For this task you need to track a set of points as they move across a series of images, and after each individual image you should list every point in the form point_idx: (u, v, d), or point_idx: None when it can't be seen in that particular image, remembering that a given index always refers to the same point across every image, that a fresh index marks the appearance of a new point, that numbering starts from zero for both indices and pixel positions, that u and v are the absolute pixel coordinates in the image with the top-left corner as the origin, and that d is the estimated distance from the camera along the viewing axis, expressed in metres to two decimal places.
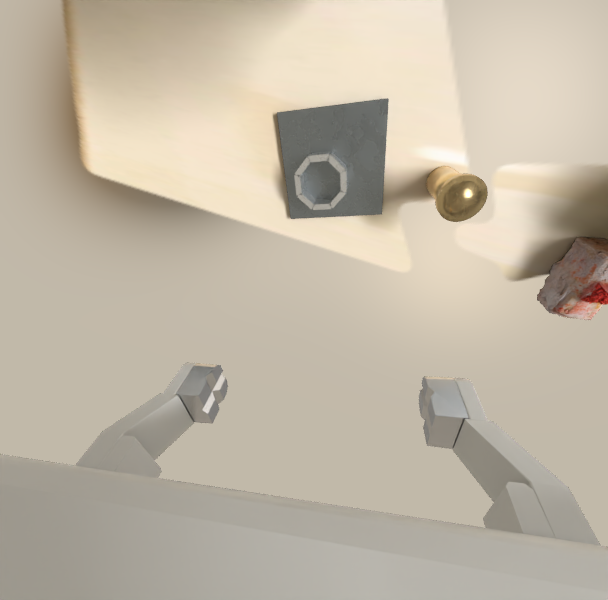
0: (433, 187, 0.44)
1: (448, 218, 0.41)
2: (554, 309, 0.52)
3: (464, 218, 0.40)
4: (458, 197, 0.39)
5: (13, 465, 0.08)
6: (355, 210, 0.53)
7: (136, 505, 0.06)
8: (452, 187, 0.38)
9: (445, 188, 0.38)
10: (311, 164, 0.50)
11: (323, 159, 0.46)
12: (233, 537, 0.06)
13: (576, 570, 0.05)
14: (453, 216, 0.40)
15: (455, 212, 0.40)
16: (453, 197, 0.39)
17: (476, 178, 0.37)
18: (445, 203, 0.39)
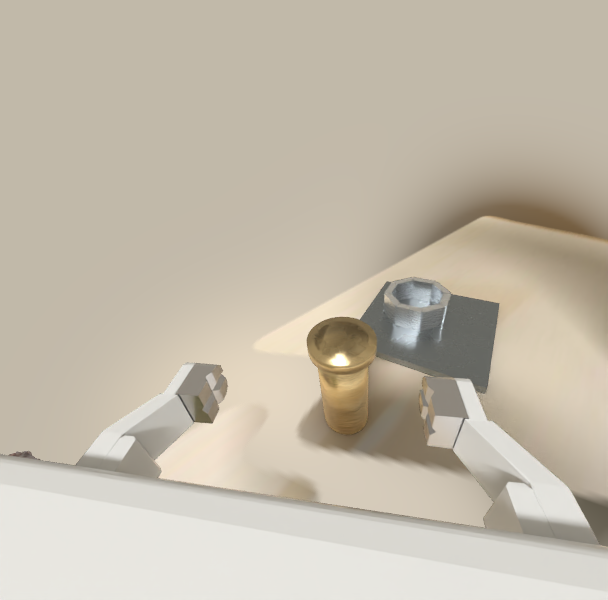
0: None
1: (323, 323, 0.27)
2: None
3: (311, 335, 0.26)
4: (346, 336, 0.25)
5: (13, 465, 0.08)
6: None
7: (136, 505, 0.06)
8: (365, 333, 0.25)
9: (368, 328, 0.26)
10: None
11: (442, 301, 0.40)
12: (233, 537, 0.06)
13: (576, 570, 0.05)
14: (322, 327, 0.27)
15: (325, 329, 0.27)
16: (349, 332, 0.26)
17: (363, 357, 0.23)
18: (346, 324, 0.27)
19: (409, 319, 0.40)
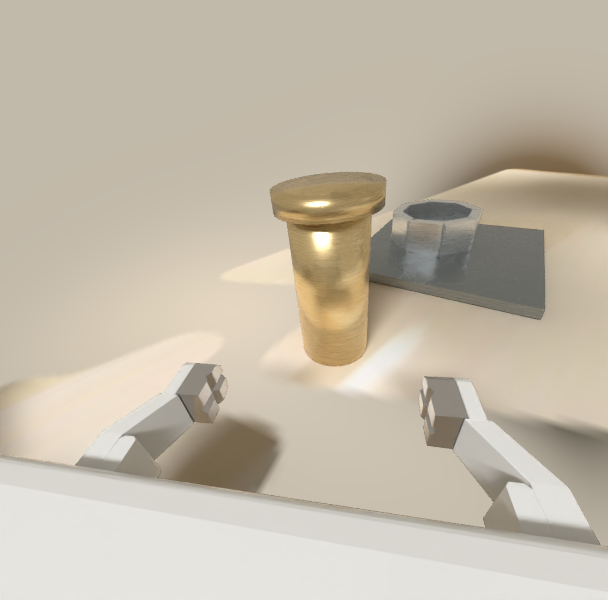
0: None
1: (300, 178, 0.17)
2: None
3: (279, 185, 0.16)
4: (336, 181, 0.15)
5: (13, 465, 0.08)
6: None
7: (136, 505, 0.06)
8: (367, 178, 0.15)
9: (372, 175, 0.16)
10: None
11: (471, 215, 0.30)
12: (233, 537, 0.06)
13: (576, 570, 0.05)
14: (298, 180, 0.17)
15: (303, 181, 0.17)
16: (341, 179, 0.16)
17: (362, 191, 0.13)
18: (337, 175, 0.17)
19: (426, 239, 0.30)
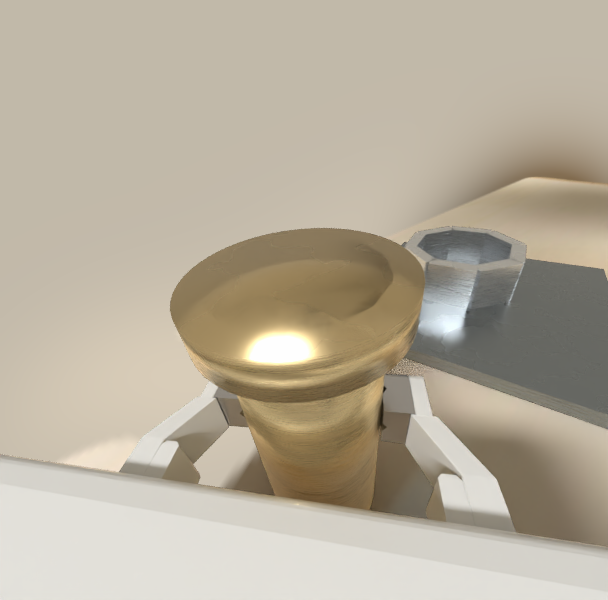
0: None
1: (255, 240, 0.09)
2: None
3: (204, 266, 0.08)
4: (316, 265, 0.07)
5: (13, 465, 0.08)
6: None
7: (137, 504, 0.06)
8: (380, 258, 0.07)
9: (388, 245, 0.08)
10: None
11: (514, 255, 0.22)
12: (233, 537, 0.06)
13: (576, 570, 0.05)
14: (248, 248, 0.09)
15: (256, 252, 0.09)
16: (328, 256, 0.08)
17: (373, 329, 0.05)
18: (322, 240, 0.09)
19: (452, 287, 0.22)
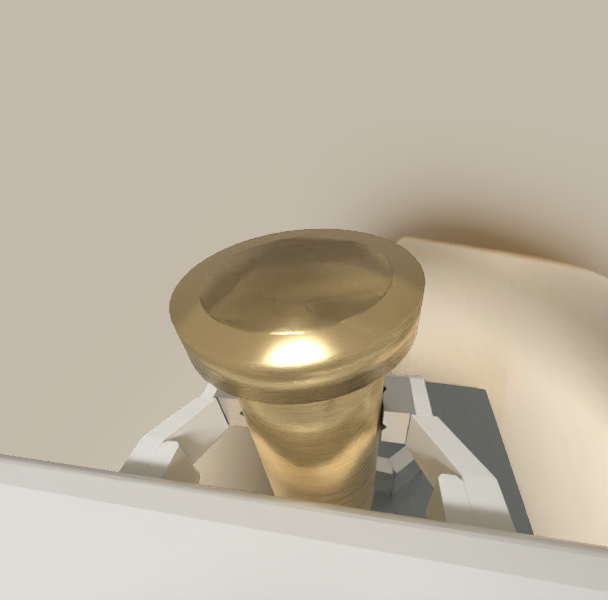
0: None
1: (254, 241, 0.09)
2: None
3: (204, 267, 0.08)
4: (315, 266, 0.07)
5: (13, 465, 0.08)
6: None
7: (136, 505, 0.06)
8: (379, 258, 0.07)
9: (388, 246, 0.08)
10: None
11: None
12: (233, 537, 0.06)
13: (576, 570, 0.05)
14: (247, 249, 0.09)
15: (255, 253, 0.09)
16: (327, 256, 0.08)
17: (373, 330, 0.05)
18: (321, 240, 0.09)
19: None
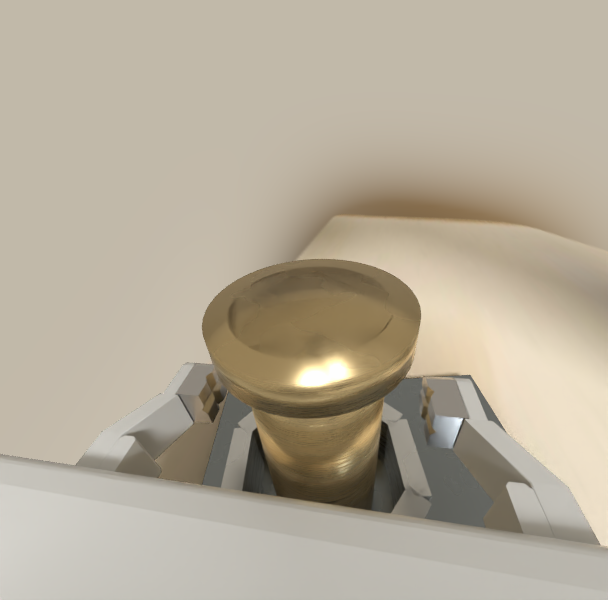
0: None
1: (270, 269, 0.11)
2: None
3: (227, 293, 0.09)
4: (327, 297, 0.09)
5: (13, 465, 0.08)
6: None
7: (137, 504, 0.06)
8: (382, 291, 0.09)
9: (389, 279, 0.09)
10: None
11: (406, 472, 0.12)
12: (233, 537, 0.06)
13: (576, 570, 0.05)
14: (264, 277, 0.10)
15: (272, 282, 0.10)
16: (336, 288, 0.09)
17: (378, 358, 0.06)
18: (330, 271, 0.10)
19: None
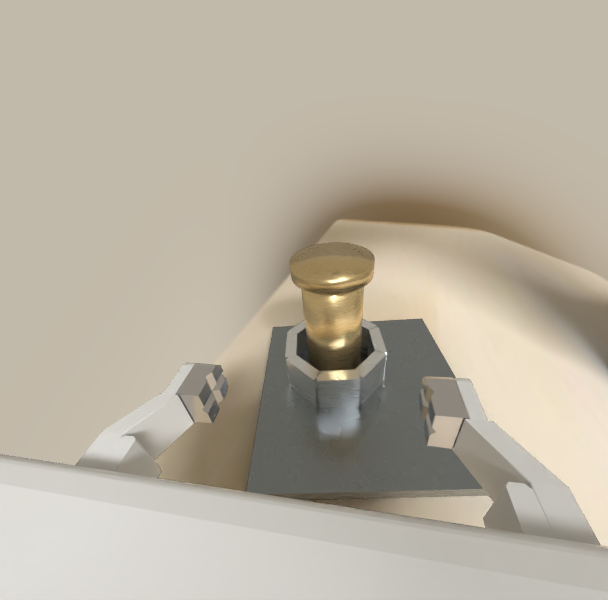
0: None
1: (311, 247, 0.23)
2: None
3: (295, 256, 0.22)
4: (338, 257, 0.21)
5: (13, 466, 0.08)
6: (268, 426, 0.23)
7: (136, 504, 0.06)
8: (360, 254, 0.21)
9: (364, 250, 0.22)
10: None
11: (376, 345, 0.25)
12: (233, 537, 0.06)
13: (576, 570, 0.05)
14: (309, 250, 0.22)
15: (313, 252, 0.22)
16: (342, 253, 0.21)
17: (356, 273, 0.19)
18: (339, 247, 0.22)
19: (342, 394, 0.23)
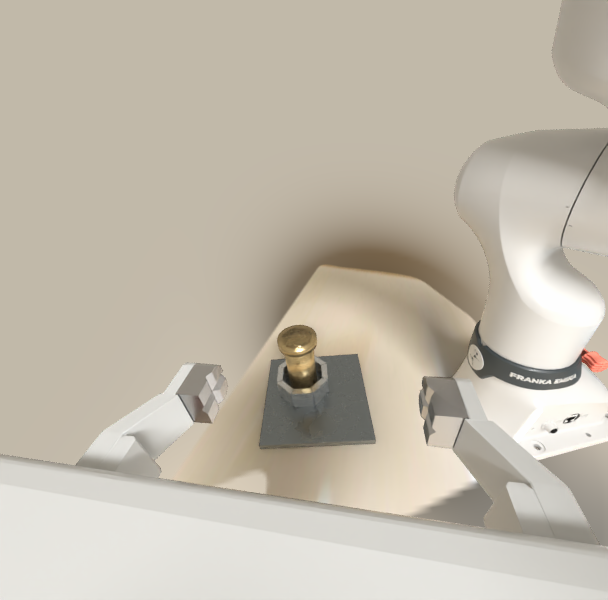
0: None
1: (288, 328, 0.47)
2: None
3: (280, 335, 0.45)
4: (300, 336, 0.45)
5: (13, 465, 0.08)
6: (269, 416, 0.47)
7: (137, 504, 0.06)
8: (310, 335, 0.45)
9: (313, 332, 0.45)
10: (318, 376, 0.53)
11: (323, 374, 0.48)
12: (233, 537, 0.06)
13: (576, 570, 0.05)
14: (287, 330, 0.46)
15: (289, 332, 0.46)
16: (302, 334, 0.45)
17: (306, 348, 0.42)
18: (301, 329, 0.46)
19: (304, 400, 0.47)
